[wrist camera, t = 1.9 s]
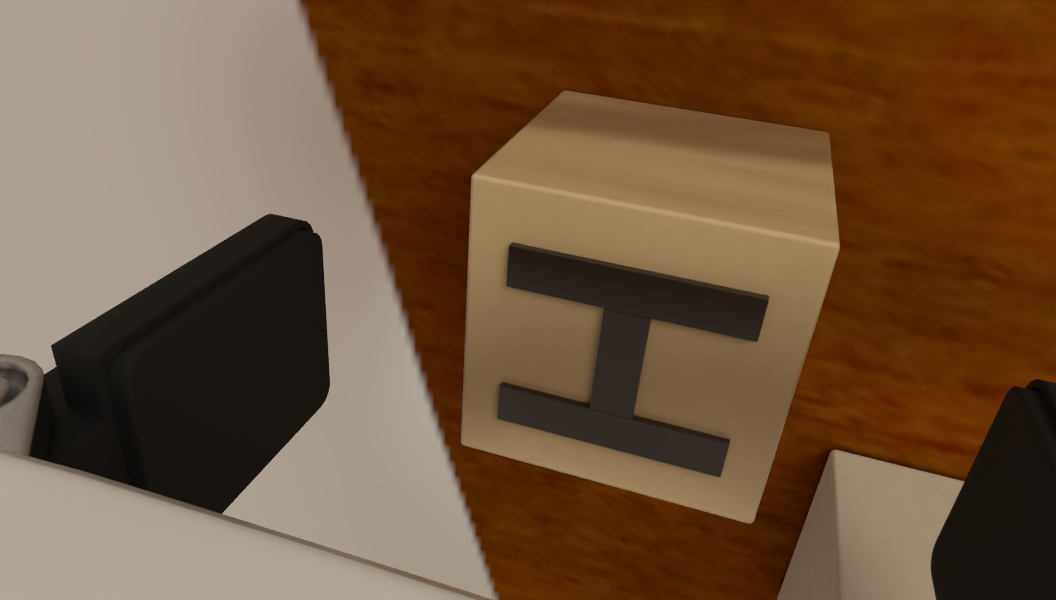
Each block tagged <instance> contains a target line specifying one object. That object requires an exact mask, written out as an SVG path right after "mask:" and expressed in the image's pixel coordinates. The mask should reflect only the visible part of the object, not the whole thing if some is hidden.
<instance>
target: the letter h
mask: <svg viewBox="0 0 1056 600" xmlns="http://www.w3.org/2000/svg"><path fill="white" fill-rule="evenodd" d="M839 250H840V241H839V230H838V220H837V210H836V199H835V189H834V178H833V168H832V158H831V147H830V137H829V133H827V132H823V131H817V130H810V129H804V128H798V127H792V126H785V125H779V124H773V123H766V122H760V121H754V120H748V119H741V118H735V117H729V116H723V115H716V114H710V113H704V112H698V111H691V110H685V109H679V108H673V107H666V106H660V105H654V104H648V103H641V102H635V101H629V100H622V99H616V98H610V97H604V96H597V95H591V94H585V93H579V92H572V91H566V90H565V91H563V92H561V93H560V94H559V95H558V96H557V97H556V98H555V99H554V100H553V101H552V102H551V103H550V104H548V105H547V106H546V107H545V108H544V109H543V110H542V111H541V112H540V113H539V114H538V115H536V116H535V117H534V118H533V119H532V120H531V121H530V122H529V123H528V124H527V125H526V126H525V127H523V128H522V129H521V130H520V131H519V132H518V133H517V134H516V135H515V136H514V137H513V138H511V139H510V140H509V141H508V142H507V143H506V144H505V145H504V146H503V147H502V148H501V149H500V150H498V151H497V152H496V153H495V154H494V155H493V156H492V157H491V158H490V159H489V160H488V161H486V162H485V163H484V164H483V165H482V166H481V167H480V168H479V169H478V170H477V171H476V172H475V173H473V175H472V177H471V199H470V224H469V249H468V274H467V300H466V325H465V350H464V376H463V401H462V426H461V444H462V445H464V446H468V447H471V448H475V449H479V450H482V451H486V452H490V453H493V454H497V455H501V456H504V457H508V458H511V459H515V460H519V461H522V462H526V463H530V464H533V465H537V466H541V467H544V468H548V469H552V470H555V471H559V472H562V473H566V474H570V475H573V476H577V477H581V478H584V479H588V480H592V481H595V482H599V483H602V484H606V485H610V486H613V487H617V488H621V489H624V490H628V491H632V492H635V493H639V494H642V495H646V496H650V497H653V498H657V499H661V500H664V501H668V502H672V503H675V504H679V505H683V506H686V507H690V508H693V509H697V510H701V511H704V512H708V513H712V514H715V515H719V516H723V517H726V518H730V519H733V520H737V521H741V522H744V523H748V524H751V523H752V522H753V521H754V519H755V516H756V513H757V510H758V507H759V503H760V500H761V497H762V494H763V491H764V488H765V484H766V481H767V478H768V475H769V472H770V469H771V465H772V462H773V459H774V456H775V453H776V450H777V446H778V443H779V440H780V437H781V434H782V431H783V427H784V424H785V421H786V418H787V415H788V412H789V408H790V405H791V402H792V399H793V396H794V393H795V389H796V386H797V383H798V380H799V377H800V374H801V370H802V367H803V364H804V361H805V358H806V355H807V351H808V348H809V345H810V342H811V339H812V335H813V332H814V329H815V326H816V323H817V320H818V316H819V313H820V310H821V307H822V304H823V301H824V297H825V294H826V291H827V288H828V285H829V282H830V278H831V275H832V272H833V269H834V266H835V263H836V259H837V256H838V253H839Z"/></svg>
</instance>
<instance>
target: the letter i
mask: <svg viewBox="0 0 1056 600" xmlns="http://www.w3.org/2000/svg"><path fill="white" fill-rule="evenodd" d="M964 482H965V481H961V480H957V479H953V478H949V477H945V476H941V475H937V474H933V473H929V472H925V471H920V470H916V469H912V468H908V467H904V466H900V465H896V464H892V463H888V462H884V461H880V460H876V459H872V458H868V457H864V456H860V455H856V454H852V453H848V452H844V451H840V450H832V451H831V452H830V454H829V457H828V460H827V462H826V465H825V468H824V471H823V473H822V476H821V479H820V482H819V484H818V487H817V490H816V493H815V495H814V498H813V501H812V504H811V506H810V509H809V512H808V515H807V517H806V520H805V523H804V526H803V528H802V531H801V534H800V537H799V539H798V542H797V545H796V548H795V550H794V553H793V556H792V559H791V562H790V564H789V567H788V570H787V573H786V575H785V578H784V581H783V584H782V586H781V589H780V592H779V595H778V597H777V600H936V597H935V592H934V587H933V581H932V576H931V556H932V551H933V548H934V545H935V542H936V540H937V538H938V536H939V534H940V532H941V530H942V528H943V526H944V523H945V521H946V519H947V517H948V515H949V513H950V511H951V509H952V507H953V505H954V503H955V501H956V498H957V496H958V494H959V492H960V490H961V488H962V486H963V484H964Z"/></svg>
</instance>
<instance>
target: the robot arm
mask: <svg viewBox="0 0 1056 600" xmlns="http://www.w3.org/2000/svg"><path fill="white" fill-rule="evenodd" d="M51 347H52V351H53V355H54V358H55V362H56V366H57V367H55V368H54V369H52V370H51V371H49V372H48V373H46V374H43V370H42V369H41V367H40V366H39V365H38V364H37V363H36V362H35V361H32V360H29V359H27V358H24V357H21V356H13V355H4V354H0V600H492V599H489V598H485V597H482V596H479V595H476V594H473V593H470V592H467V591H463V590H460V589H457V588H454V587H450V586H448V585H445V584H442V583H438V582H435V581H432V580H429V579H426V578H423V577H420V576H417V575H413V574H410V573H407V572H404V571H401V570H398V569H394V568H391V567H388V566H385V565H382V564H379V563H376V562H372V561H369V560H366V559H363V558H360V557H357V556H354V555H351V554H347V553H344V552H341V551H337V550H334V549H332V548H328V547H325V546H322V545H319V544H315V543H312V542H309V541H305V540H303V539H299V538H296V537H293V536H290V535H287V534H283V533H280V532H277V531H274V530H270V529H268V528H264V527H261V526H258V525H255V524H252V523H249V522H245V521H242V520H239V519H236V518H233V517H229V516H226V515H223V514H222V513H223V512H224V511H225V510H226V508H227V507H228V506H229V505H230V504H231V503H232V502H233V501H234V500H235V499H236V498H237V497H238V495H239V494H240V493H241V492H242V491H243V490H244V489H245V488H246V487H247V486H248V485H249V484H250V483H251V481H252V480H253V479H254V478H255V477H256V476H257V475H258V474H259V473H260V472H261V471H262V470H263V469H264V468H265V466H266V465H267V464H268V463H269V462H270V461H271V460H272V459H273V458H274V457H275V456H276V455H277V453H278V452H279V451H280V450H281V449H282V448H283V447H284V446H285V445H286V444H287V443H288V442H289V441H290V439H291V438H292V437H293V436H294V435H295V434H296V433H297V432H298V431H299V430H300V429H301V428H302V427H303V426H304V424H305V423H306V422H307V421H308V420H309V419H310V418H311V417H312V416H313V415H314V414H315V413H316V412H317V410H318V409H319V408H320V407H321V406H322V405H323V403H324V401H325V399H326V397H327V395H328V392H329V387H330V376H329V358H328V340H327V322H326V304H325V287H324V268H323V250H322V241H321V238H320V236H319V235H318V234H317V233H313V230H312V227H311V225H310V224H308V222H307V221H302V220H298V219H293V218H288V217H283V216H279V215H274V214H269V215H266V216H264V217H262V218H260V219H259V220H257V221H255V222H254V223H252V224H251V225H249V226H247V227H246V228H244V229H242V230H241V231H239V232H237V233H236V234H234V235H232V236H231V237H229V238H227V239H226V240H224V241H222V242H221V243H219V244H218V245H216V246H214V247H213V248H211V249H209V250H208V251H206V252H204V253H203V254H201V255H199V256H198V257H196V258H195V259H193V260H191V261H189V262H188V263H186V264H185V265H183V266H181V267H180V268H178V269H176V270H175V271H173V272H172V273H170V274H168V275H166V276H165V277H163V278H162V279H160V280H158V281H157V282H155V283H153V284H152V285H150V286H149V287H147V288H145V289H143V290H142V291H140V292H138V293H137V294H135V295H133V296H132V297H130V298H129V299H127V300H125V301H124V302H122V303H120V304H119V305H117V306H115V307H114V308H112V309H110V310H109V311H107V312H105V313H104V314H102V315H100V316H99V317H97V318H96V319H94V320H92V321H91V322H89V323H87V324H86V325H84V326H83V327H81V328H79V329H77V330H76V331H74V332H72V333H71V334H69V335H68V336H66V337H64V338H63V339H61V340H59V341H58V342H56V343H55V344H53V345H51ZM931 576H932V581H933V587H934V592H935V597H936V600H1056V383H1053V382H1048V381H1043V380H1039V379H1036V380H1033V381H1031V382H1030V383H1029V384H1028V385H1027V386H1026V388H1020V387H1013V388H1011V389H1010V391H1009V392H1008V393H1007V395H1006V396H1005V398H1004V400H1003V402H1002V405H1001V407H1000V409H999V411H998V413H997V415H996V417H995V419H994V421H993V423H992V425H991V427H990V430H989V432H988V434H987V436H986V438H985V440H984V442H983V444H982V446H981V448H980V450H979V453H978V455H977V457H976V459H975V461H974V463H973V465H972V467H971V469H970V471H969V473H968V475H967V478H966V480H965V482H964V484H963V486H962V488H961V490H960V492H959V494H958V496H957V498H956V501H955V503H954V505H953V507H952V509H951V511H950V513H949V515H948V517H947V519H946V521H945V523H944V526H943V528H942V530H941V532H940V534H939V536H938V538H937V540H936V542H935V545H934V548H933V551H932V556H931Z"/></svg>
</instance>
